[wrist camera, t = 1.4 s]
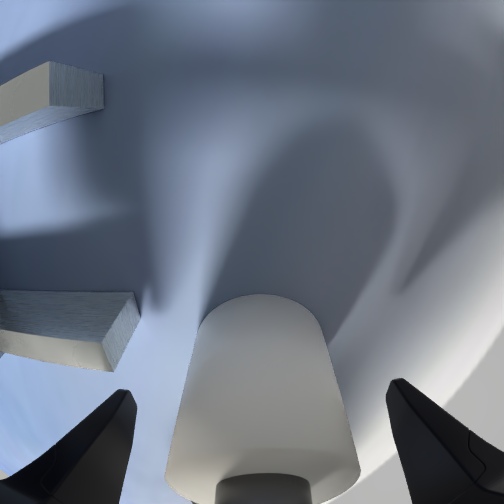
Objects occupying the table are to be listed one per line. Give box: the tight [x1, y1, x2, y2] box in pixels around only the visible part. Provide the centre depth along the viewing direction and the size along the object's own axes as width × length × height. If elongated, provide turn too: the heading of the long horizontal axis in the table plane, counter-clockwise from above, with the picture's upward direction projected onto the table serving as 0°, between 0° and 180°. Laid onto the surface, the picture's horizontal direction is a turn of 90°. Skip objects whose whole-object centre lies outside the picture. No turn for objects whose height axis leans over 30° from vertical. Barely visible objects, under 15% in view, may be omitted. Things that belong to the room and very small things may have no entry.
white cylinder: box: [165, 294, 361, 504], centre depth 8 cm, size 5×5×8 cm
